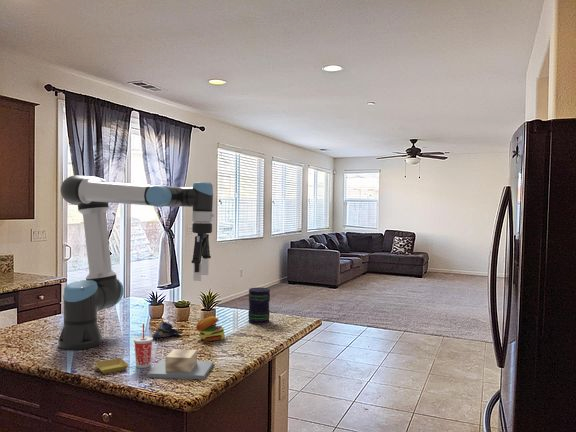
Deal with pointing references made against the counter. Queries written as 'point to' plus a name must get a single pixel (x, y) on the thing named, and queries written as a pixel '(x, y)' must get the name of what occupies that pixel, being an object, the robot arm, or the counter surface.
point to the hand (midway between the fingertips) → (201, 277)
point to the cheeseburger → (210, 329)
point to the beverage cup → (143, 350)
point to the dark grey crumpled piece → (165, 330)
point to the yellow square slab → (111, 365)
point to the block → (181, 360)
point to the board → (196, 373)
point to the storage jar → (259, 305)
